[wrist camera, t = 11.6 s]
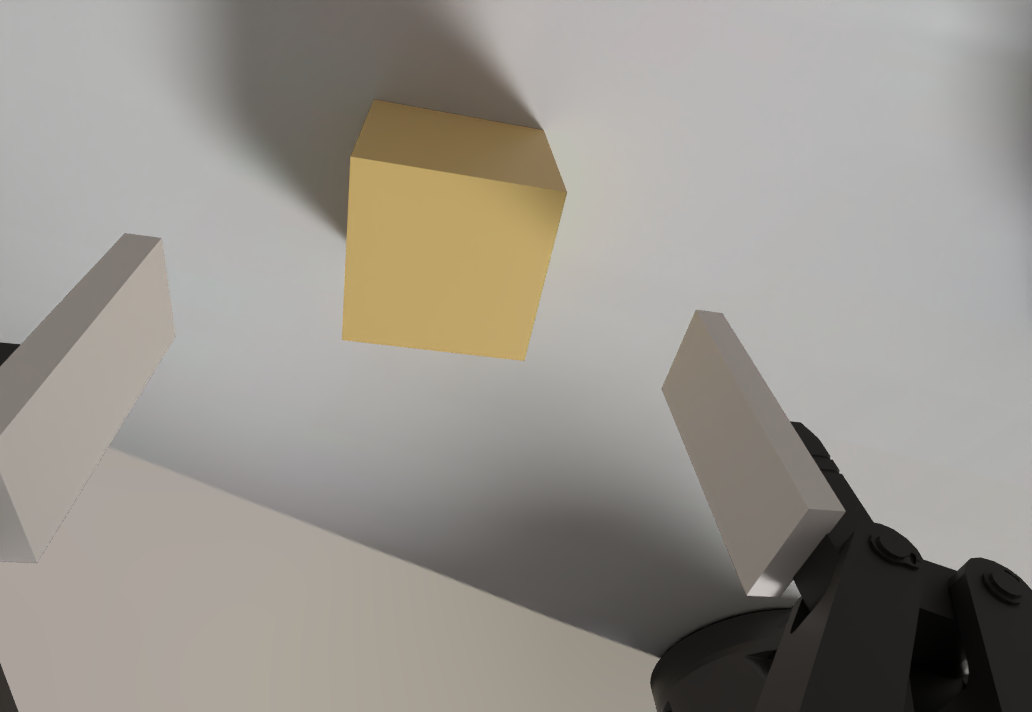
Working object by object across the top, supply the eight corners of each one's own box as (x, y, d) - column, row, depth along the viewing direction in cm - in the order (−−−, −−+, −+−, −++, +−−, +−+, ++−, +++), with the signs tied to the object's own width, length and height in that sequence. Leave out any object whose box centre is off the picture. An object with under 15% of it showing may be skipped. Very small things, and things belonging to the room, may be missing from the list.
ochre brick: (511, 274, 26) (524, 361, 21) (364, 254, 25) (342, 340, 20) (543, 129, 23) (567, 192, 18) (374, 98, 22) (350, 156, 17)
